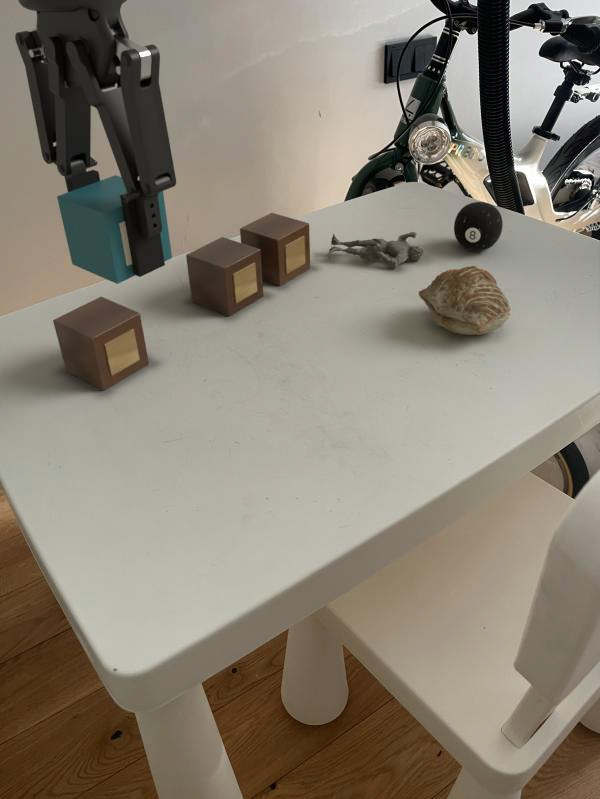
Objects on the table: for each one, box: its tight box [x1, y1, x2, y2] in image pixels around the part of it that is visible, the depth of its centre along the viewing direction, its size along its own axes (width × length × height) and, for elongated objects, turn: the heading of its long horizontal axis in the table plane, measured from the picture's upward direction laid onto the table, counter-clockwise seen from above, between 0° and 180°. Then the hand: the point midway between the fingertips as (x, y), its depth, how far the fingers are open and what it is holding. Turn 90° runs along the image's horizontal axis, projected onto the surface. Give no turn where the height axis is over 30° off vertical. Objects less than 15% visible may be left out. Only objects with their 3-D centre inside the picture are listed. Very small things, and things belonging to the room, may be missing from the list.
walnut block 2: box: [185, 236, 264, 317], centre depth 85 cm, size 6×6×6 cm
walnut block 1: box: [52, 296, 150, 391], centre depth 74 cm, size 6×6×6 cm
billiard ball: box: [453, 201, 504, 252], centre depth 94 cm, size 6×6×6 cm
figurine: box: [327, 231, 425, 269], centre depth 93 cm, size 6×4×12 cm
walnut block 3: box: [239, 212, 311, 287], centre depth 90 cm, size 6×6×6 cm
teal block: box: [56, 174, 173, 285], centre depth 61 cm, size 6×6×6 cm
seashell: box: [418, 265, 511, 336], centre depth 78 cm, size 9×7×8 cm
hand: (122, 258), depth 62 cm, fingers closed on teal block, 6 cm apart
